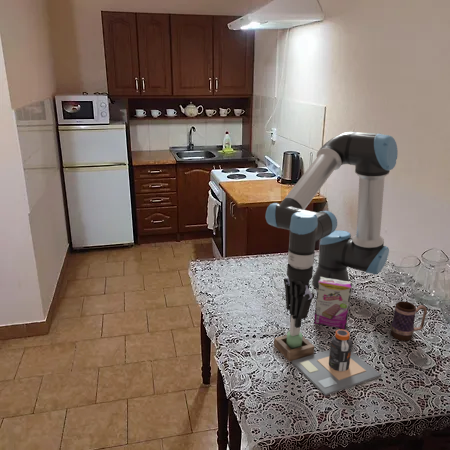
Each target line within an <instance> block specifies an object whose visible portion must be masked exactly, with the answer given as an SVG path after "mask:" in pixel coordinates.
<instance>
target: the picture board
mask: <svg viewBox="0 0 450 450" xmlns="http://www.w3.org/2000/svg"><path fill="white" fill-rule="evenodd" d="M329 355H330V349H328V350H327V349H326V350H324V351H319V352H317V353H314V354H313V355H310V356H306V357H303V358H300V359H296V360H293V361H291V363H292V365H294V366H295V367H296V368H297V369H298V370H299V371H300V372H301V373H302V374H303V376H305V377H306V379H308V380H309V381H310V382H311V384H313V385H314V386H315V387H316V388H317V389H318V391H320V393H322V394H323V396H325V397H327V396H330V395H331V394H334V393H339V392H340V391H343V390H346V389H349V388H351V387H354V386H358V385H360V384H363V383H366V382H368V381H371V380H375V379H377V378H379V377H382V374H381V373H380V372H379V371H378V370H376V369H375V368H374V367H372V366H371V365H370V364H369V363H367V362H366V361H365V360H364V359H362V358H361V357H360V356H359V355H357V354H356V353H355V352H353V351H352V350H351V356H350V364H349V369H348V370H346V371H336V370H334V369H332V368H331V367H330V366H329Z"/></svg>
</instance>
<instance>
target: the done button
mask: <svg viewBox="0 0 450 450" xmlns="http://www.w3.org/2000/svg"><path fill="white" fill-rule="evenodd" d="M286 335H287V342H286V345H287V346H288V347H289V348H290V349H291V350H292V349H295V348H299V347H302V337H304V336H303V333H302V332H300V335H296V336H291V335H290V330H289V331H288V332H287V334H286Z"/></svg>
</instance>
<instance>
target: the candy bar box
mask: <svg viewBox="0 0 450 450" xmlns="http://www.w3.org/2000/svg"><path fill="white" fill-rule="evenodd" d="M352 287H353V281H350V280H349V281H343V280H337V279H331V278H325V277H320V279H319V282H318V288H317V290H316V298H315V299H316V301H315V309H314V319H313V324H317V325H322V326H326V327H332V328H337V329H342V330H347V325H348V320H349V319H348V318H349V309H350V305H351V304H350V303H351V295H352V289H353V288H352Z"/></svg>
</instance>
